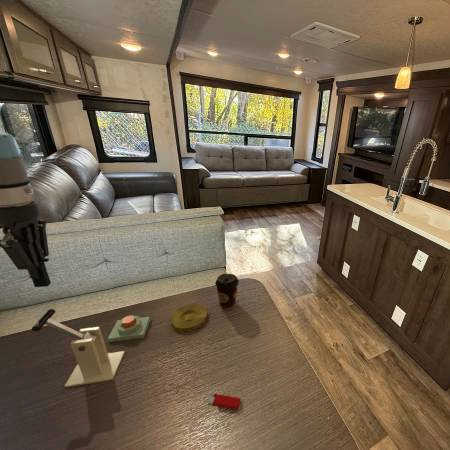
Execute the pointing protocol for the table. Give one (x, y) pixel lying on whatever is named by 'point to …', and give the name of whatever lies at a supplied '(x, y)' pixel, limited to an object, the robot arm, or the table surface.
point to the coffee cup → (227, 290)
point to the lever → (60, 327)
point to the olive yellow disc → (188, 317)
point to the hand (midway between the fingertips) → (43, 285)
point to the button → (128, 321)
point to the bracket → (93, 360)
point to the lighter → (224, 401)
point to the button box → (129, 330)
